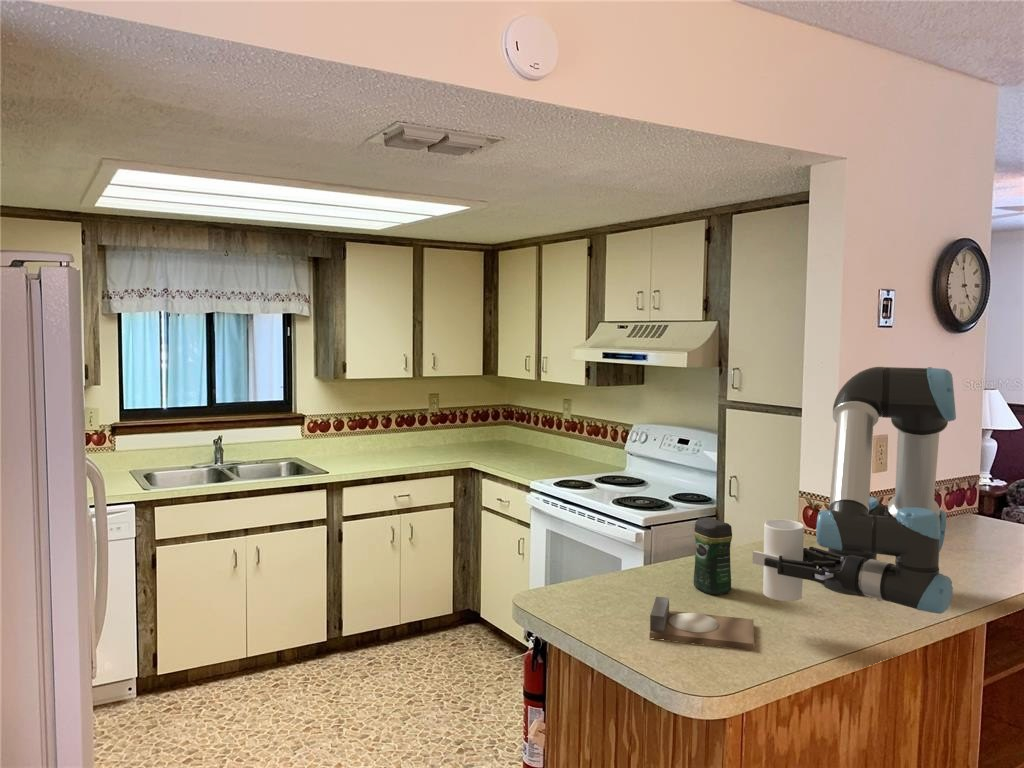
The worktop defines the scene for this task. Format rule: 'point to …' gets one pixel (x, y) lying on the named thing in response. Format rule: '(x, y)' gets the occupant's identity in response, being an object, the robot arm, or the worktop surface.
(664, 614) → the board
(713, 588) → the coffee jar
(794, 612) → the worktop surface
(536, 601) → the worktop surface
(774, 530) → the cup
